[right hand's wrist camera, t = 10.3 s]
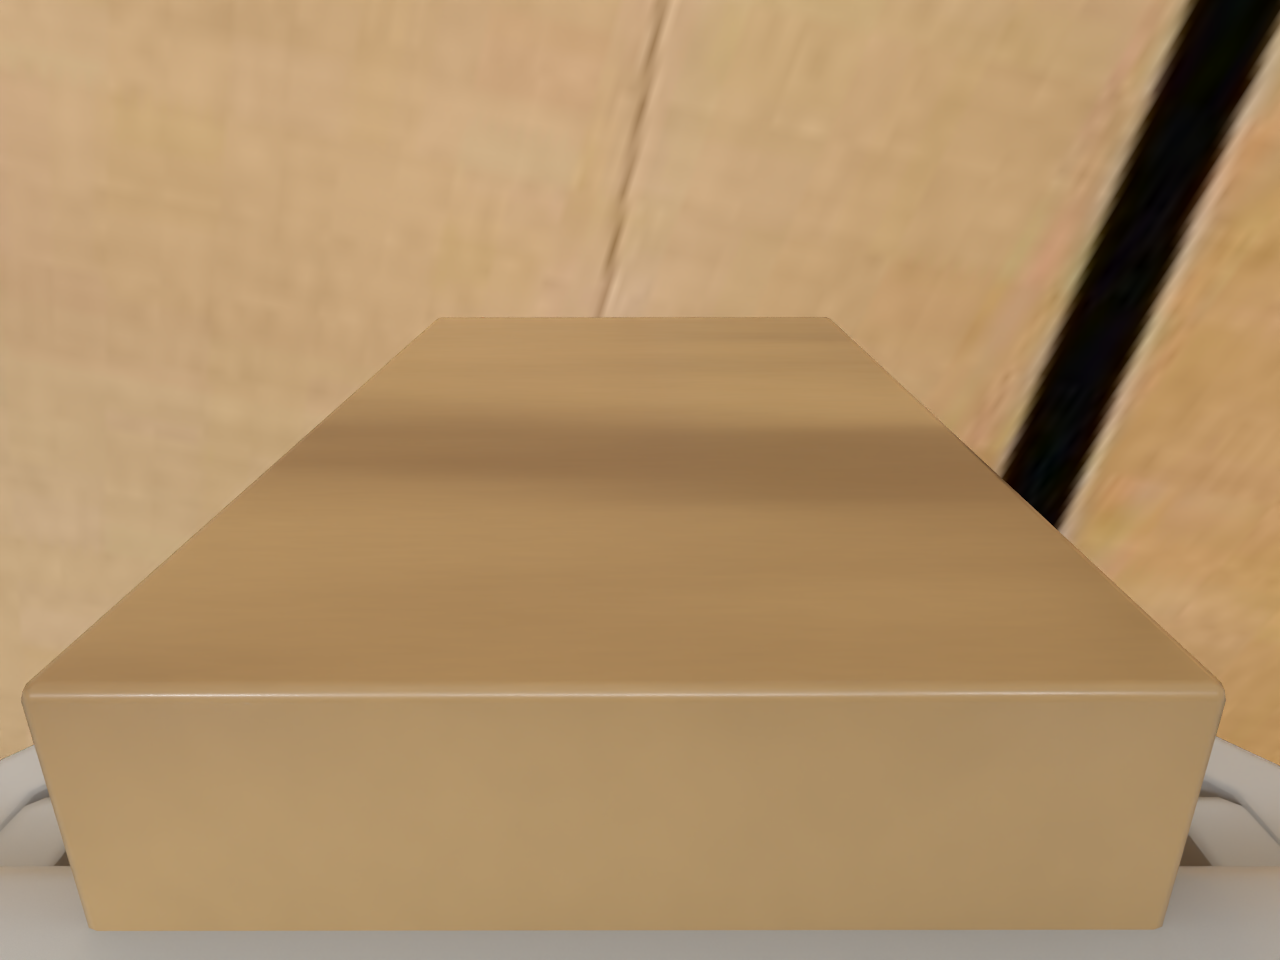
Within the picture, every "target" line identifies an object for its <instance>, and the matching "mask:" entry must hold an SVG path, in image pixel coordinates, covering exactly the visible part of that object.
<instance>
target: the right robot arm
mask: <svg viewBox="0 0 1280 960" xmlns="http://www.w3.org/2000/svg"><path fill="white" fill-rule="evenodd" d="M0 960H1280V766H1279V765H1277V764H1275V763H1272V762H1270V761H1268V760H1266V759H1264V758H1262V757H1260V756H1257V755H1255V754H1253V753H1251V752H1249V751H1247V750H1244V749H1242V748H1240V747H1238V746H1236V745H1234V744H1232V743H1229V742H1227V741H1225V740H1223V739H1221V738H1219V737H1215V740H1214V744H1213V748H1212V751H1211V755H1210V758H1209V762H1208V765H1207V769H1206V772H1205V776H1204V779H1203V783H1202V787H1201V790H1200V794H1199V797H1198V801H1197V804H1196V808H1195V811H1194V815H1193V819H1192V822H1191V826H1190V829H1189V833H1188V836H1187V840H1186V843H1185V847H1184V851H1183V854H1182V858H1181V861H1180V865H1179V868H1178V872H1177V875H1176V879H1175V882H1174V886H1173V890H1172V893H1171V897H1170V900H1169V904H1168V907H1167V911H1166V914H1165V918H1164V922H1163V925H1162V927H1160V928H1157V929H1154V930H490V931H96V930H93V929H91V928H89V927H88V923H87V920H86V917H85V913H84V910H83V907H82V903H81V900H80V897H79V893H78V890H77V887H76V883H75V880H74V877H73V873H72V870H71V866H70V863H69V860H68V856H67V853H66V850H65V846H64V843H63V840H62V836H61V833H60V830H59V826H58V823H57V820H56V816H55V813H54V810H53V806H52V803H51V799H50V796H49V793H48V789H47V786H46V783H45V779H44V776H43V773H42V769H41V766H40V763H39V759H38V756H37V753H36V749H35V746H34V745H32V746H30V747H28V748H26V749H24V750H21V751H19V752H17V753H15V754H13V755H10V756H8V757H6V758H4V759H2V760H0Z"/></svg>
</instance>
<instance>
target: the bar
mask: <svg viewBox="0 0 1280 960" xmlns="http://www.w3.org/2000/svg"><path fill="white" fill-rule="evenodd" d="M1225 701H1226V698H1225V690H1224V688H1223V686H1222V683H1221V682H1220V681H1219V680H1218V679H1217V678H1216V677H1215V676H1213V675H1212V674H1211V673H1210V672H1209V671H1208V670H1207V669H1206V668H1205V667H1204V666H1203V665H1202V664H1201V663H1200V662H1198V661H1197V660H1196V659H1195V658H1194V657H1193V656H1192V655H1191V654H1190V653H1189V652H1188V651H1187V650H1186V649H1184V648H1183V647H1182V646H1181V645H1180V644H1179V643H1178V642H1177V641H1176V640H1175V639H1174V638H1173V637H1172V636H1170V635H1169V634H1168V633H1167V632H1166V631H1165V630H1164V629H1163V628H1162V627H1161V626H1160V625H1159V624H1158V623H1157V622H1155V621H1154V620H1153V619H1152V618H1151V617H1150V616H1149V615H1148V614H1147V613H1146V612H1145V611H1144V610H1143V609H1141V608H1140V607H1139V606H1138V605H1137V604H1136V603H1135V602H1134V601H1133V600H1132V599H1131V598H1130V597H1129V596H1127V595H1126V594H1125V593H1124V592H1123V591H1122V590H1121V589H1120V588H1119V587H1118V586H1117V585H1116V584H1115V583H1113V582H1112V581H1111V580H1110V579H1109V578H1108V577H1107V576H1106V575H1105V574H1104V573H1103V572H1102V571H1101V570H1100V569H1098V568H1097V567H1096V566H1095V565H1094V564H1093V563H1092V562H1091V561H1090V560H1089V559H1088V558H1087V557H1086V556H1084V555H1083V554H1082V553H1081V552H1080V551H1079V550H1078V549H1077V548H1076V547H1075V546H1074V545H1073V544H1072V543H1070V542H1069V541H1068V540H1067V539H1066V538H1065V537H1064V536H1063V535H1062V534H1061V533H1060V532H1059V531H1058V530H1057V529H1055V528H1054V527H1053V526H1052V525H1051V524H1050V523H1049V522H1048V521H1047V520H1046V519H1045V518H1044V517H1043V516H1041V515H1040V514H1039V513H1038V512H1037V511H1036V510H1035V509H1034V508H1033V507H1032V506H1031V505H1030V504H1029V503H1027V502H1026V501H1025V500H1024V499H1023V498H1022V497H1021V496H1020V495H1019V494H1018V493H1017V492H1016V491H1015V490H1013V489H1012V488H1011V487H1010V486H1009V485H1008V484H1007V483H1006V482H1005V481H1004V480H1003V479H1002V478H1001V477H1000V476H998V475H997V474H996V473H995V472H994V471H993V470H992V469H991V468H990V467H989V466H988V465H987V464H986V463H984V462H983V461H982V460H981V459H980V458H979V457H978V456H977V455H976V454H975V453H974V452H973V451H972V450H970V449H969V448H968V447H967V446H966V445H965V444H964V443H963V442H962V441H961V440H960V439H959V438H958V437H957V436H955V435H954V434H953V433H952V432H951V431H950V430H949V429H948V428H947V427H946V426H945V425H944V424H943V423H941V422H940V421H939V420H938V419H937V418H936V417H935V416H934V415H933V414H932V413H931V412H930V411H929V410H927V409H926V408H925V407H924V406H923V405H922V404H921V403H920V402H919V401H918V400H917V399H916V398H915V397H913V396H912V395H911V394H910V393H909V392H908V391H907V390H906V389H905V388H904V387H903V386H902V385H901V384H900V383H898V382H897V381H896V380H895V379H894V378H893V377H892V376H891V375H890V374H889V373H888V372H887V371H886V370H884V369H883V368H882V367H881V366H880V365H879V364H878V363H877V362H876V361H875V360H874V359H873V358H872V357H870V356H869V355H868V354H867V353H866V352H865V351H864V350H863V349H862V348H861V347H860V346H859V345H858V344H857V343H855V342H854V341H853V340H852V339H851V338H850V337H849V336H848V335H847V334H846V333H845V332H844V331H843V330H841V329H840V328H839V327H838V326H837V325H836V324H835V323H834V322H833V321H832V320H831V319H829V318H827V317H640V318H439V319H437V320H436V321H435V322H434V323H432V324H431V325H430V326H429V327H428V328H427V329H426V330H425V331H423V332H422V333H421V334H420V335H419V336H418V337H417V338H416V339H414V340H413V341H412V342H411V343H410V344H409V345H408V346H407V347H405V348H404V349H403V350H402V351H401V352H400V353H399V354H398V355H396V356H395V357H394V358H393V359H392V360H391V361H390V362H389V363H387V364H386V365H385V366H384V367H383V368H382V369H381V370H380V371H378V372H377V373H376V374H375V375H374V376H373V377H372V378H371V379H369V380H368V381H367V382H366V383H365V384H364V385H363V386H362V387H360V388H359V389H358V390H357V391H356V392H355V393H354V394H352V395H351V396H350V397H349V398H348V399H347V400H346V401H345V402H343V403H342V404H341V405H340V406H339V407H338V408H337V409H336V410H334V411H333V412H332V413H331V414H330V415H329V416H328V417H327V418H325V419H324V420H323V421H322V422H321V423H320V424H319V425H318V426H316V427H315V428H314V429H313V430H312V431H311V432H310V433H309V434H307V435H306V436H305V437H304V438H303V439H302V440H301V441H300V442H298V443H297V444H296V445H295V446H294V447H293V448H292V449H291V450H289V451H288V452H287V453H286V454H285V455H284V456H283V457H282V458H280V459H279V460H278V461H277V462H276V463H275V464H274V465H273V466H271V467H270V468H269V469H268V470H267V471H266V472H265V473H264V474H262V475H261V476H260V477H259V478H258V479H257V480H256V481H254V482H253V483H252V484H251V485H250V486H249V487H248V488H247V489H245V490H244V491H243V492H242V493H241V494H240V495H239V496H238V497H236V498H235V499H234V500H233V501H232V502H231V503H230V504H229V505H227V506H226V507H225V508H224V509H223V510H222V511H221V512H220V513H218V514H217V515H216V516H215V517H214V518H213V519H212V520H211V521H209V522H208V523H207V524H206V525H205V526H204V527H203V528H202V529H200V530H199V531H198V532H197V533H196V534H195V535H194V536H193V537H191V538H190V539H189V540H188V541H187V542H186V543H185V544H184V545H182V546H181V547H180V548H179V549H178V550H177V551H176V552H175V553H173V554H172V555H171V556H170V557H169V558H168V559H167V560H166V561H164V562H163V563H162V564H161V565H160V566H159V567H158V568H156V569H155V570H154V571H153V572H152V573H151V574H150V575H149V576H147V577H146V578H145V579H144V580H143V581H142V582H141V583H140V584H138V585H137V586H136V587H135V588H134V589H133V590H132V591H131V592H129V593H128V594H127V595H126V596H125V597H124V598H123V599H122V600H120V601H119V602H118V603H117V604H116V605H115V606H114V607H113V608H111V609H110V610H109V611H108V612H107V613H106V614H105V615H104V616H102V617H101V618H100V619H99V620H98V621H97V622H96V623H95V624H93V625H92V626H91V627H90V628H89V629H88V630H87V631H86V632H84V633H83V634H82V635H81V636H80V637H79V638H78V639H77V640H75V641H74V642H73V643H72V644H71V645H70V646H69V647H68V648H66V649H65V650H64V651H63V652H62V653H61V654H60V655H58V656H57V657H56V658H55V659H54V660H53V661H52V662H51V663H49V664H48V665H47V666H46V667H45V668H44V669H43V670H42V671H40V672H39V673H38V674H37V675H36V676H35V677H34V678H33V679H31V680H30V681H29V682H28V683H27V684H26V686H25V688H24V690H23V692H22V700H21V702H22V706H23V709H24V712H25V716H26V719H27V722H28V726H29V729H30V732H31V736H32V739H33V742H34V746H35V749H36V753H37V756H38V759H39V763H40V766H41V769H42V773H43V776H44V779H45V783H46V786H47V789H48V793H49V796H50V799H51V803H52V806H53V810H54V813H55V816H56V820H57V823H58V826H59V830H60V833H61V836H62V840H63V843H64V846H65V850H66V853H67V856H68V860H69V863H70V866H71V870H72V873H73V877H74V880H75V883H76V887H77V890H78V893H79V897H80V900H81V903H82V907H83V910H84V913H85V917H86V920H87V923H88V927H89V928H91V929H93V930H96V931H490V930H1154V929H1157V928H1160V927H1162V925H1163V922H1164V918H1165V914H1166V911H1167V907H1168V904H1169V900H1170V897H1171V893H1172V890H1173V886H1174V882H1175V879H1176V875H1177V872H1178V868H1179V865H1180V861H1181V858H1182V854H1183V851H1184V847H1185V843H1186V840H1187V836H1188V833H1189V829H1190V826H1191V822H1192V819H1193V815H1194V811H1195V808H1196V804H1197V801H1198V797H1199V794H1200V790H1201V787H1202V783H1203V779H1204V776H1205V772H1206V769H1207V765H1208V762H1209V758H1210V755H1211V751H1212V748H1213V744H1214V740H1215V737H1216V733H1217V730H1218V726H1219V723H1220V719H1221V716H1222V712H1223V708H1224V705H1225Z"/></svg>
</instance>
